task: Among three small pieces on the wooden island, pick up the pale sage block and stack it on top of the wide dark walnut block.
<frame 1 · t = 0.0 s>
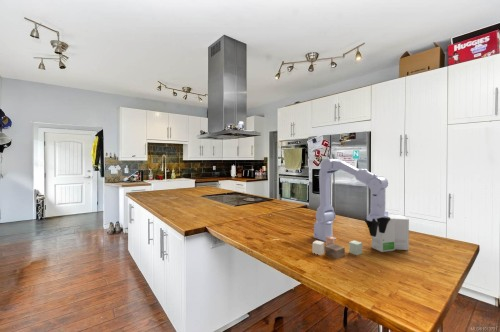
hand: (377, 234, 102), 10 cm above the countertop, tool pointing down, fingers open, 7 cm apart
sage block: (355, 252, 107), on the countertop
cream block: (318, 252, 107), on the countertop
skincare box: (382, 249, 111), on the countertop, touching supplement box
terracotta cylinder: (330, 247, 114), on the countertop
supplement box: (395, 246, 114), on the countertop, touching skincare box
walnut block: (334, 255, 105), on the countertop
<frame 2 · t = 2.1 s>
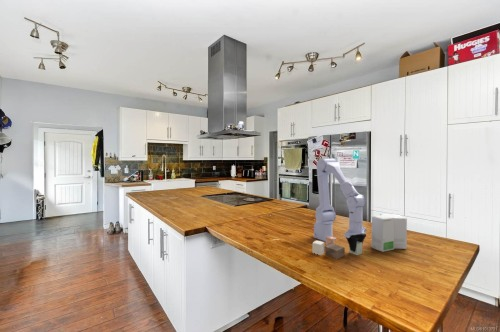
hand: (355, 249, 107), 1 cm above the countertop, tool pointing down, fingers closed on sage block, 4 cm apart
sage block: (355, 252, 107), on the countertop, touching gripper
supplement box: (392, 245, 115), on the countertop, touching skincare box
everything else where it was.
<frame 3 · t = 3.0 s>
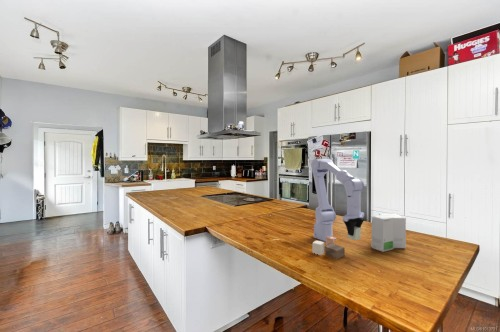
hand: (353, 234, 106), 9 cm above the countertop, tool pointing down, fingers closed on sage block, 4 cm apart
sage block: (354, 238, 106), point 7 cm above the countertop, touching gripper
when the fingers open (7 cm above the countertop, at t = 4.4 s): sage block stays where it is, point 4 cm above the countertop.
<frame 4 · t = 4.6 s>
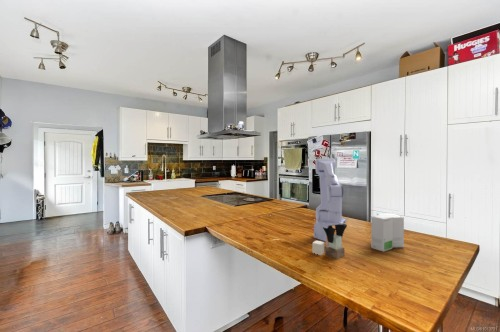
hand: (334, 240, 104), 7 cm above the countertop, tool pointing down, fingers open, 6 cm apart
sage block: (335, 247, 104), point 4 cm above the countertop
supplement box: (389, 244, 117), on the countertop, touching skincare box
everything else where it was.
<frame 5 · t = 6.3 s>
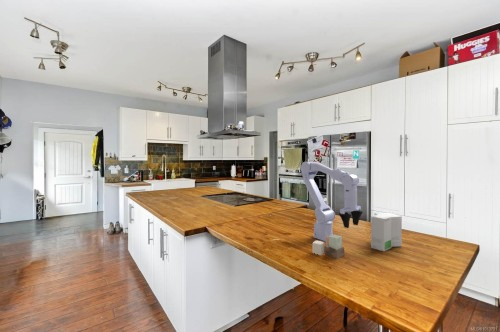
hand: (351, 226, 114), 10 cm above the countertop, tool pointing down, fingers open, 7 cm apart
sage block: (335, 247, 104), point 4 cm above the countertop, touching walnut block
supplement box: (387, 243, 118), on the countertop, touching skincare box
walnut block: (334, 255, 105), on the countertop, touching sage block
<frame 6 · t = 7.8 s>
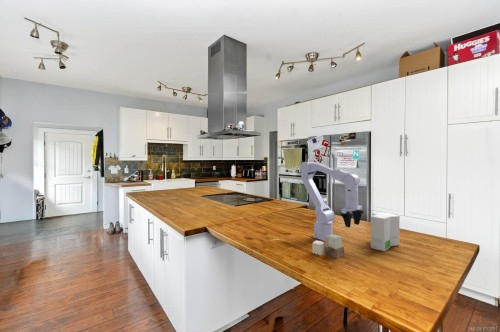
hand: (352, 225, 114), 10 cm above the countertop, tool pointing down, fingers open, 7 cm apart
sage block: (334, 246, 104), point 4 cm above the countertop
supplement box: (385, 243, 118), on the countertop, touching skincare box
walnut block: (334, 255, 105), on the countertop
at the end: sage block 0.2 cm off-centre on the walnut block, point 4.0 cm above the walnut block's base; sage block tilted 0°; the gripper is holding nothing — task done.
